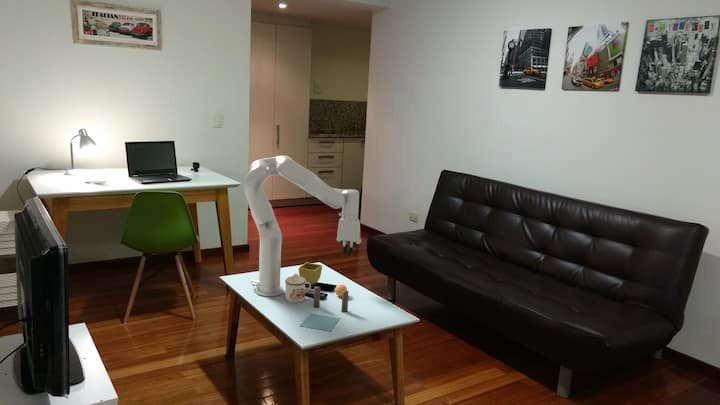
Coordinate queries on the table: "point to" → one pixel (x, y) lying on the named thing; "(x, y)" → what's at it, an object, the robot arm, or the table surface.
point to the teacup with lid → (296, 288)
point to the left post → (316, 297)
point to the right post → (345, 301)
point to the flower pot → (310, 272)
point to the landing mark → (320, 322)
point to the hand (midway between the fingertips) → (348, 254)
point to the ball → (340, 289)
